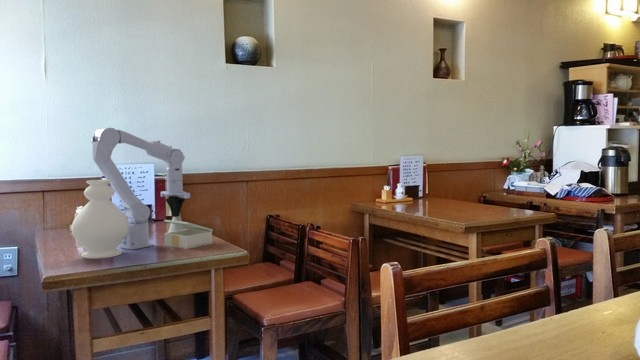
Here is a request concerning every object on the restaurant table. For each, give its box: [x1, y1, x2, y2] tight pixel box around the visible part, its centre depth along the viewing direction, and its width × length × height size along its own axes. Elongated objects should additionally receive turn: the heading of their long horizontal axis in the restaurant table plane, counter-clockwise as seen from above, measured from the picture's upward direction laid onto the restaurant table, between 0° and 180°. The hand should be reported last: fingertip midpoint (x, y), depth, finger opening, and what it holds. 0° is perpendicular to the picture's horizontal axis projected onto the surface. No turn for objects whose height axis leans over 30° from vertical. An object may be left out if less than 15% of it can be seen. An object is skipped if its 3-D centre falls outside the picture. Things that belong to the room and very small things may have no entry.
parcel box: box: [163, 228, 213, 250], centre depth 190 cm, size 12×12×4 cm
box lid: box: [163, 219, 214, 232], centre depth 190 cm, size 12×12×1 cm
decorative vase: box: [71, 179, 129, 260], centre depth 174 cm, size 18×18×25 cm
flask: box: [167, 209, 186, 233], centre depth 215 cm, size 7×7×10 cm
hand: (175, 216), depth 197 cm, fingers closed
